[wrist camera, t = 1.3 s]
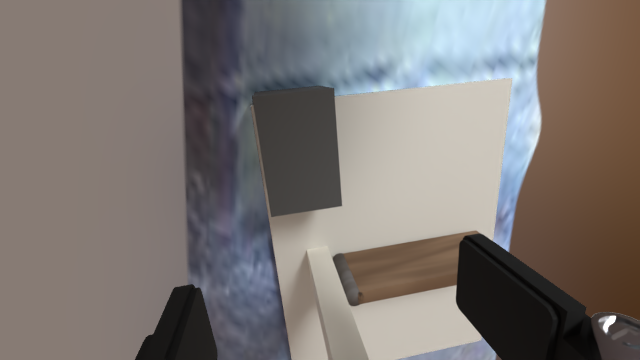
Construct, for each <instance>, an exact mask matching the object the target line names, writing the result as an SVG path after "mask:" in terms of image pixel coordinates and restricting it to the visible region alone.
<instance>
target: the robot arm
mask: <svg viewBox="0 0 640 360" xmlns="http://www.w3.org/2000/svg"><path fill="white" fill-rule="evenodd" d="M456 304H457V306H458V308H459V310H460V311H461V312H462V313H463V314H464V316H465V317H466V318H467V319H468V320H469V322H470V323H471V324H472V325H473V326H474V327H475V329H476V330H477V331H478V332H479V333H480V335H481V336H482V337H483V338H484V339H485V340H486V342H487V343H488V344H489V345H490V346H491V348H492V349H493V350H494V351H495V352H496V353H497V355H498V356H499V357H500V358H501V359H502V360H640V321H638V320H636V319H633V318H631V317H628V316H625V315H622V314H618V313H612V312H600V313H597V314H594V315H593V317H592V318H590V317H589V316H587V315H586V314H585V311H586V307H585V306H584V305H582V304H581V303H579V302H578V301H577V300H575V299H574V298H572V297H571V296H570V295H568V294H567V293H565V292H564V291H562V290H561V289H560V288H558V287H557V286H555V285H554V284H553V283H551V282H550V281H548V280H547V279H545V278H544V277H543V276H541V275H540V274H538V273H537V272H536V271H534V270H533V269H531V268H530V267H529V266H527V265H526V264H524V263H523V262H521V261H520V260H519V259H517V258H516V257H514V256H513V255H512V254H510V253H509V252H507V251H506V250H505V249H503V248H502V247H500V246H499V245H497V244H496V243H495V242H493V241H492V240H490V239H489V238H488V237H486V236H485V235H483V234H481V233H478V234H472V235H467V236H464V238H463V240H462V241H460V244H459V257H458V271H457V286H456ZM135 360H217V348H216V344H215V340H214V336H213V333H212V329H211V325H210V321H209V318H208V314H207V310H206V306H205V302H204V299H203V295H202V291H201V289H200V288H195V286H194V285H193V284H191V285H186V286H181V287H175V288H174V289H173V291H172V293H171V295H170V298H169V300H168V302H167V305H166V307H165V309H164V311H163V313H162V316H161V318H160V320H159V323H158V325H157V327H156V330H155V332H154V334H153V335H149V336H147V337H146V339H145V340H144V342H143V344H142V346H141V348H140V350H139V352H138V354H137V356H136V359H135Z"/></svg>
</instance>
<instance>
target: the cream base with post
mask: <svg viewBox="0 0 640 360" xmlns="http://www.w3.org/2000/svg"><path fill="white" fill-rule="evenodd" d="M511 85H512V78H503V79H493V80H484V81H474V82H465V83H455V84H446V85H436V86H427V87H417V88H408V89H398V90H389V91H379V92H370V93H360V94H351V95H342V96H335V110H336V124H337V139H338V153H339V167H340V182H341V196H342V206H340V207H334V208H327V209H321V210H314V211H308V212H301V213H295V214H288V215H282V216H275V217H271V213H270V207H269V200H268V194H267V188H266V181H265V175H264V169H263V162H262V156H261V150H260V144H259V137H258V131H257V125H256V118H255V112H254V106H253V105H251V112H252V118H253V124H254V130H255V137H256V143H257V149H258V155H259V161H260V167H261V174H262V180H263V186H264V192H265V198H266V205H267V211H268V217H269V223H270V229H271V235H272V242H273V248H274V254H275V260H276V266H277V272H278V279H279V285H280V291H281V297H282V303H283V309H284V316H285V322H286V328H287V334H288V340H289V346H290V353H291V359H292V360H396V359H401V358H405V357H409V356H414V355H418V354H423V353H427V352H432V351H436V350H440V349H445V348H449V347H454V346H458V345H462V344H467V343H471V342H476V341H480V340H481V335H480V333H479V332H478V331H477V330H476V329H475V327H474V326H473V325H472V324H471V323H470V322H469V320H468V319H467V318H466V317H465V316H464V314H463V313H462V312H461V311H460V310H459V308H458V306H457V304H456V286H457V285H455V286H450V287H445V288H440V289H434V290H429V291H424V292H419V293H414V294H409V295H404V296H399V297H394V298H389V299H384V300H379V301H374V302H369V303H364V304H360V305H358V306H351V305H349V303H348V300H347V298H346V295H345V292H344V289H343V287H342V284H341V281H340V278H339V276H338V273H337V270H336V268H335V265H334V262H333V257H334V256H335V255H336V254H338V253H349V252H355V251H361V250H366V249H372V248H378V247H383V246H389V245H395V244H401V243H406V242H412V241H418V240H423V239H429V238H435V237H441V236H446V235H452V234H458V233H464V232H469V231H475V230H476V231H478V232H479V233H481V234H483V235H485V236H486V237H488V238H489V239H490V240H492V241H493V236H494V227H495V219H496V211H497V202H498V194H499V186H500V177H501V169H502V160H503V152H504V144H505V135H506V127H507V119H508V110H509V102H510V94H511Z"/></svg>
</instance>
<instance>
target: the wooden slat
mask: <svg viewBox="0 0 640 360" xmlns="http://www.w3.org/2000/svg"><path fill="white" fill-rule="evenodd" d="M478 233H479V232H478V231H476V230H475V231H469V232H464V233H458V234H452V235H446V236H441V237H435V238H429V239H423V240H418V241H412V242H406V243H401V244H395V245H389V246H383V247H378V248H372V249H366V250H361V251H355V252H349V253H338V254H336V255H335V256H334V257H333V262H334V265H335V268H336V270H337V273H338V276H339V278H340V281H341V284H342V287H343V289H344V292H345V295H346V298H347V300H348V303H349V305H351V306H358V305H360V304H364V303H369V302H374V301H379V300H384V299H389V298H394V297H399V296H404V295H409V294H414V293H419V292H424V291H429V290H434V289H440V288H445V287H450V286H455V285H457V271H458V257H459V244H460V241H462V240H463V238H464V236H467V235H472V234H478Z"/></svg>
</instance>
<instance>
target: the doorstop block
mask: <svg viewBox="0 0 640 360" xmlns="http://www.w3.org/2000/svg"><path fill="white" fill-rule="evenodd" d="M252 99H253V106H254V112H255V118H256V125H257V131H258V137H259V144H260V150H261V156H262V162H263V169H264V175H265V181H266V188H267V194H268V200H269V207H270V213H271V217H275V216H282V215H288V214H295V213H301V212H308V211H314V210H321V209H327V208H334V207H340V206H342V196H341V182H340V167H339V153H338V139H337V124H336V110H335V96H334V88H329V87H323V86H312V87H302V88H292V89H282V90H272V91H262V92H255V93H254V95H253V96H252Z"/></svg>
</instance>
